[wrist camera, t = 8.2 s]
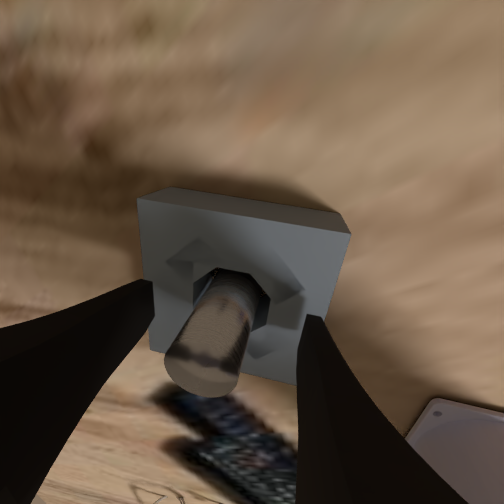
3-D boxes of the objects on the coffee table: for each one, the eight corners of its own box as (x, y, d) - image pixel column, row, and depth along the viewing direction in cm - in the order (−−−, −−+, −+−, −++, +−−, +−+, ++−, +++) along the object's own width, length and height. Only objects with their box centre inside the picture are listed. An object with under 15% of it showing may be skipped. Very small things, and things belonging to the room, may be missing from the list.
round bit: (261, 295, 15) (231, 405, 9) (220, 284, 15) (163, 384, 9) (269, 257, 14) (243, 354, 8) (225, 247, 14) (165, 331, 8)
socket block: (303, 346, 16) (303, 387, 13) (174, 317, 17) (150, 350, 14) (340, 213, 12) (351, 234, 9) (170, 186, 13) (136, 198, 10)
